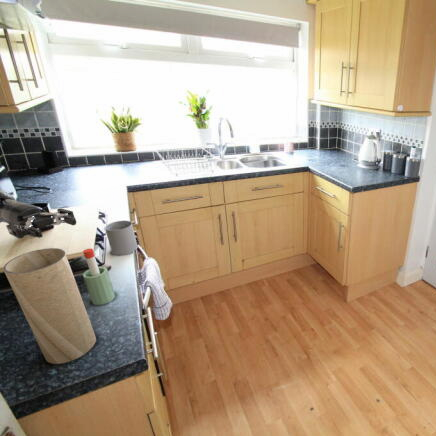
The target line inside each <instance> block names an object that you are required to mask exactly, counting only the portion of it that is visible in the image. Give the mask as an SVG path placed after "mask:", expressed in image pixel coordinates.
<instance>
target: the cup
mask: <svg viewBox="0 0 436 436" xmlns="http://www.w3.org/2000/svg"><path fill="white" fill-rule="evenodd" d="M104 230H105V233H106V238H107V240H108V244H109V248H110V250H111V254H112V255H116V256H125V255H128V254H131V253H134V252H135V251H136V250H138V248H139V247H138V242H137V239H136V234H135V230H134V226H133V222H132V221H130V220H117V221H113V222H111V223H108V224H107V225H105V227H104Z"/></svg>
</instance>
